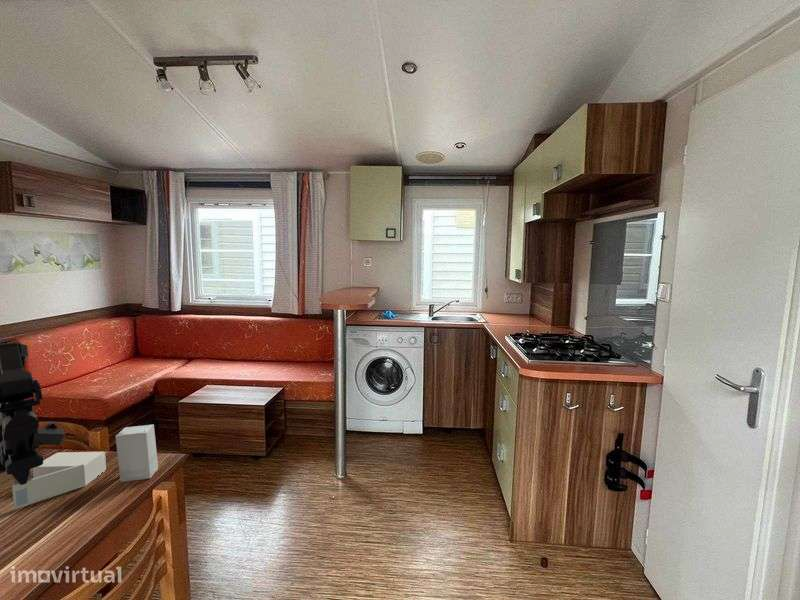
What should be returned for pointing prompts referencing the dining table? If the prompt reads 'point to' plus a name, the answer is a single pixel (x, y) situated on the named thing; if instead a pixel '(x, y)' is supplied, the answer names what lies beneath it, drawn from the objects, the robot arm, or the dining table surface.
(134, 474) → the skincare box
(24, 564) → the dining table surface
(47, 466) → the carton
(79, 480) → the pale grey panel
